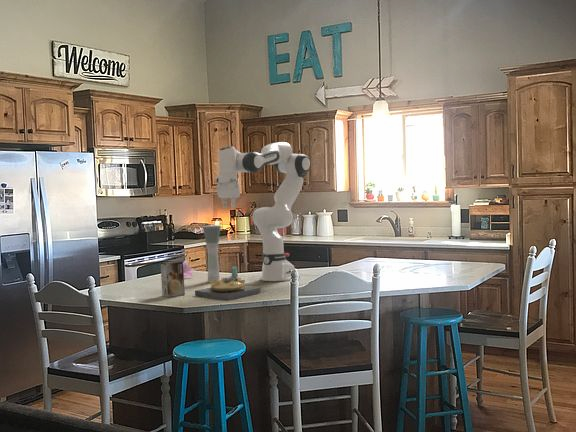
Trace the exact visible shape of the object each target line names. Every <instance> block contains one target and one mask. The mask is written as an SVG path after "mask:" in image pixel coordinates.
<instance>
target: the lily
mask: <svg viewBox="0 0 576 432" xmlns="http://www.w3.org/2000/svg"><path fill="white" fill-rule="evenodd" d="M194 270H195V269H194V268H193V267H189V262H188V260H187V259H185V260H184V261H183V273H184V280H185V278H186V277H189V278H191V279H195V276H194V274H193V273H192V272H193V271H194Z"/></svg>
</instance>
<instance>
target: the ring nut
mask: <svg viewBox="0 0 576 432" xmlns="http://www.w3.org/2000/svg"><path fill="white" fill-rule="evenodd" d="M238 276H239V275H238V266H233V267H231V276H229V277H221V278H220V280H219V281H216V280H211V281H210V288H211V290H212V291H237V290H242V289H244V288H245V286H246V285H245V282H246V281H245V279H242V278H241V277H238Z"/></svg>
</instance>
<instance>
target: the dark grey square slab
mask: <svg viewBox="0 0 576 432" xmlns="http://www.w3.org/2000/svg"><path fill="white" fill-rule="evenodd" d="M261 291H262V290H261V287H258V286H250V285H249V286H248V285H245V288H244V289H242V290H237V291H212V290H211V287H207V288H203V289H202V288H201V289H198V290H197V289H196V290H194V296H195V297H201V298H207V299H213V300H214V299H216V300H224V301H230V300H231V301H232V300H235V299H240V298H245V297H249V296H253V295H257V294H261Z"/></svg>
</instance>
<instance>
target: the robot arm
mask: <svg viewBox="0 0 576 432" xmlns="http://www.w3.org/2000/svg"><path fill="white" fill-rule="evenodd" d="M311 162H312V161H311V159H310V157H309V156H308V155H306V154H304V153H299V154H298V153H293V147H292V146H291V144H290V143H288V142H286V141H279V142H278V141H277V142H271V143H269V144H266V145H265V146H263V147H262V148H261V151H260V153H259V152H257V151H250V152H240V151H238V150H237V149H236V148H235V147H234V146H232V145H231V146H224V147H221V148H220V149H219V151H218V167H219V170H218V171H219V172H218V176H217V178H216V179H215V183H216V191H217V192H216V193H217V197H218V198H219V199H221V202H222V206H223V208H227V207H228V202H227V199H230V201H231V203H230V208H236V201H237V199H240V197H241V192H240V191H241V190H240V184H239V182H238V173H258V172H259V171H261V169H263V168H264V167H265V166H268V165H273V167H274V169H275V171H276V172H278V173H280V174H285V178H284V179H283V181H282V182H281V184H280V185H279V187H278V188H277V190H276V192H275V193H274V195H273V199H274V202H275V203H274V205H273V206H267V207H266V206H263V207H259V208H256V209H254V210H253V213H252V217H251V218H252V222H253V224H254V225H256V227H257V228H258V230H259V233H260V235H261V240H262V262H263V263H262V266H261V267H262V269H261V276H260V279H261V281H265V282H286V281H287V282H288V281H291V280H292V279H291V270H293V269H295V270H296V268H295V266H294V265H293V264H292V263H291V262H289V260H287V257H288V258H289V256H290V253H288V252H285V250H284V246H285V245H284V238H283V236H282V235H280V234H279V232H278V229H282V228H286V227H289V226H291V224H292V223H293V219H294V215H293V213H292V206H293V204H294V202H295V201H296V199H297V197H299V194H300V192H301V190H302V187H303V185H304V178H303V177H305V176H306V175H307V173H308V172H309V171H310V169H311V166H312V165H311ZM298 275H299V277H298V278H300V277H301V276H300V274H298Z"/></svg>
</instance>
